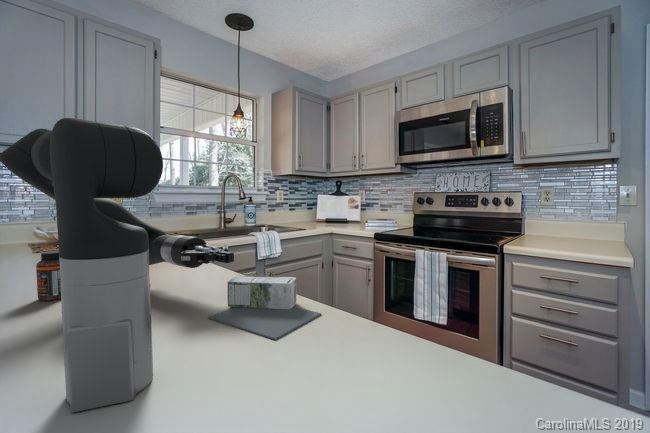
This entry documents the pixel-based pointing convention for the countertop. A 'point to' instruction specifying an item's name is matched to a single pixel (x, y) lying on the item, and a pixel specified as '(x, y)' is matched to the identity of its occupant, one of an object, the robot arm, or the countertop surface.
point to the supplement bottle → (49, 276)
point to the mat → (265, 320)
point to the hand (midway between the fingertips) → (231, 257)
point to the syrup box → (262, 292)
